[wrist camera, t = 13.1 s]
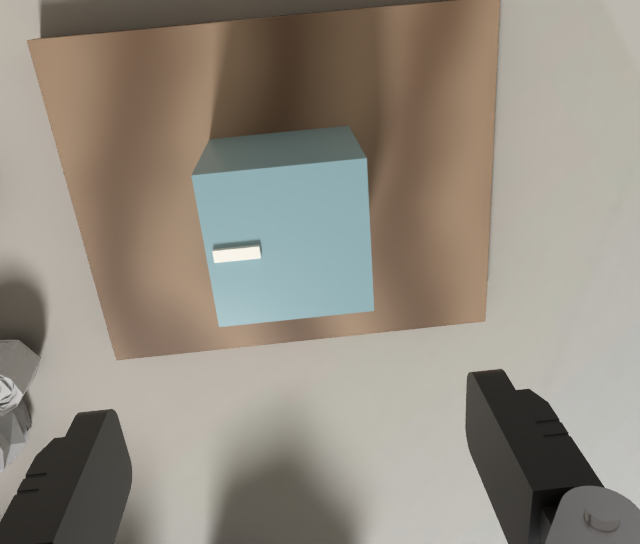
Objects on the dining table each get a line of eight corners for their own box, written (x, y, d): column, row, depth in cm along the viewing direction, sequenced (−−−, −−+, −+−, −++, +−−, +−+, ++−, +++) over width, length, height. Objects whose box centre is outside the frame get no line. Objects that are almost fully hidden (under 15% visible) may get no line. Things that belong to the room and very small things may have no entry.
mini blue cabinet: (349, 125, 27) (367, 159, 21) (356, 253, 29) (375, 313, 24) (209, 139, 26) (190, 176, 21) (230, 266, 29) (218, 329, 24)
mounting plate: (488, -4, 26) (500, -4, 25) (476, 308, 33) (485, 321, 32) (40, 38, 26) (26, 40, 24) (123, 345, 32) (116, 360, 31)
